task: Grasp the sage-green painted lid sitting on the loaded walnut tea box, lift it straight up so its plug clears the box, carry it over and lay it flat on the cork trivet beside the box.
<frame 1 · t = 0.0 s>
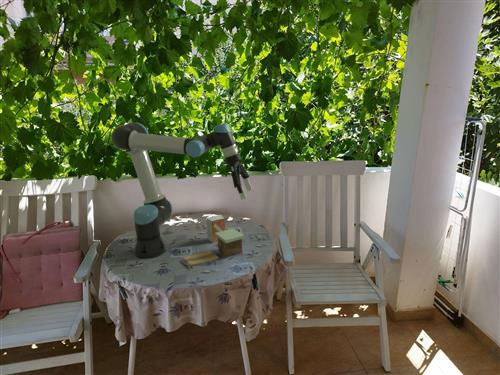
hand: (247, 194, 192), 28 cm above the table, tool tilted 20°, fingers open, 13 cm apart
small box: (216, 240, 209), on the table
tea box: (230, 253, 192), on the table
trivet: (200, 260, 187), on the table
lid: (229, 237, 190), point 9 cm above the table, touching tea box
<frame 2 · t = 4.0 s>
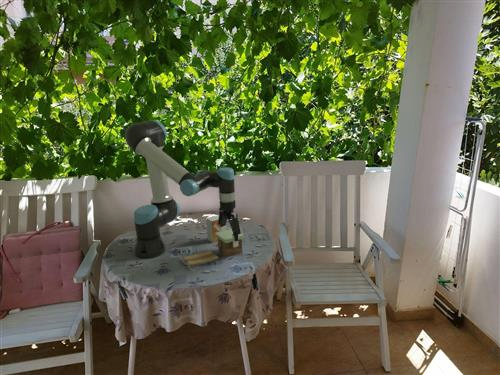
hand: (229, 242, 191), 6 cm above the table, tool pointing down, fingers closed on lid, 11 cm apart
lid: (229, 237, 190), point 9 cm above the table, touching gripper, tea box
everything else where it was.
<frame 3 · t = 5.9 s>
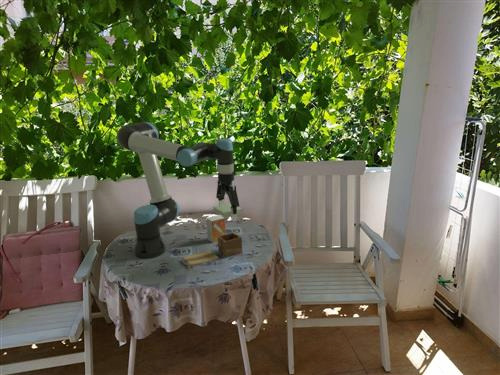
hand: (228, 216, 187), 20 cm above the table, tool pointing down, fingers closed on lid, 11 cm apart
lid: (227, 210, 186), point 23 cm above the table, touching gripper
everything else where it was.
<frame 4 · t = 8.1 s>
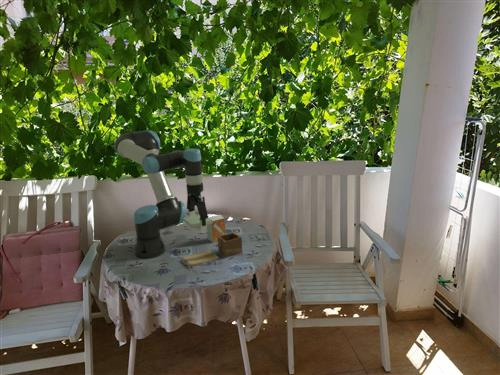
hand: (198, 228, 182), 17 cm above the table, tool pointing down, fingers closed on lid, 11 cm apart
lid: (197, 222, 181), point 20 cm above the table, touching gripper
everything else where it was.
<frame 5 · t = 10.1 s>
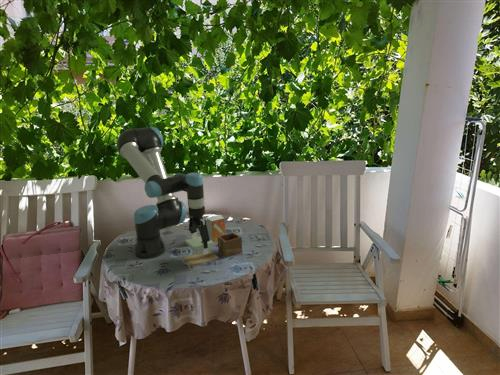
hand: (200, 249, 185), 6 cm above the table, tool pointing down, fingers closed on lid, 11 cm apart
lid: (199, 244, 184), point 9 cm above the table, touching gripper
everything else where it was.
when the fingers open (1 cm above the table, at t = 12.1 s): lid stays where it is, resting on trivet.
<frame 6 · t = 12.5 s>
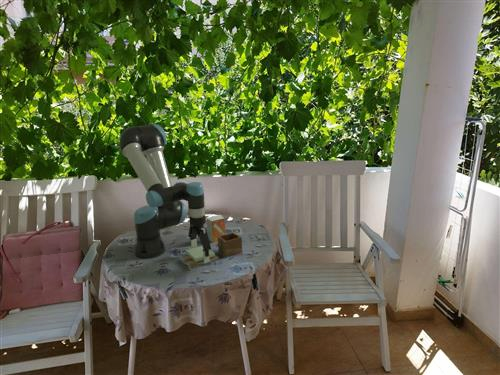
hand: (200, 256, 186), 2 cm above the table, tool pointing down, fingers open, 13 cm apart
lid: (200, 254, 186), point 3 cm above the table, touching trivet
everything else where it was.
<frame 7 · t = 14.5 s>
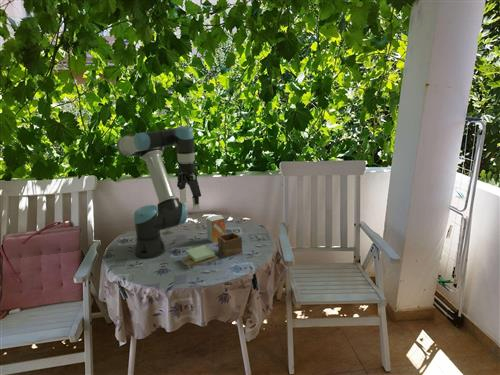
hand: (189, 206, 179), 28 cm above the table, tool pointing down, fingers open, 13 cm apart
nothing on the table moved.
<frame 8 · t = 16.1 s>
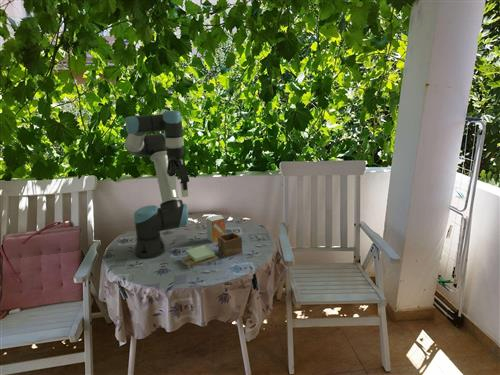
hand: (179, 193, 175), 35 cm above the table, tool pointing down, fingers open, 13 cm apart
nothing on the table moved.
at the end: lid inside the target area on the trivet (0.0 cm from its centre), point 3.0 cm above the trivet's base; lid tilted 0°; the gripper is holding nothing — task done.
